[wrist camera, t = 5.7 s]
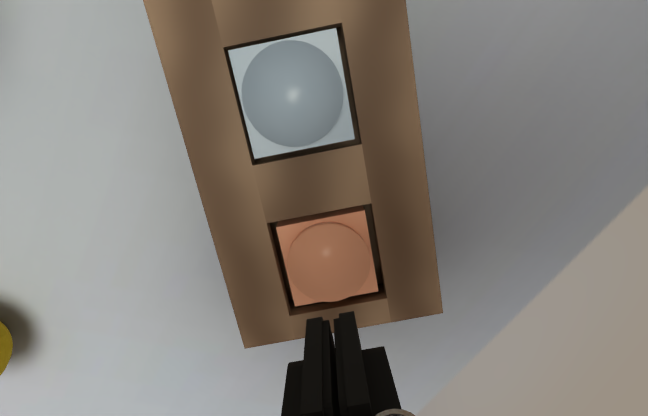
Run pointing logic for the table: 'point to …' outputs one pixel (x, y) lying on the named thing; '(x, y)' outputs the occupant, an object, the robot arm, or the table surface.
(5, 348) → the lemon
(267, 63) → the slate blue button
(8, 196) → the table surface
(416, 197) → the button panel
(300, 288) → the terracotta button
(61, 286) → the table surface
